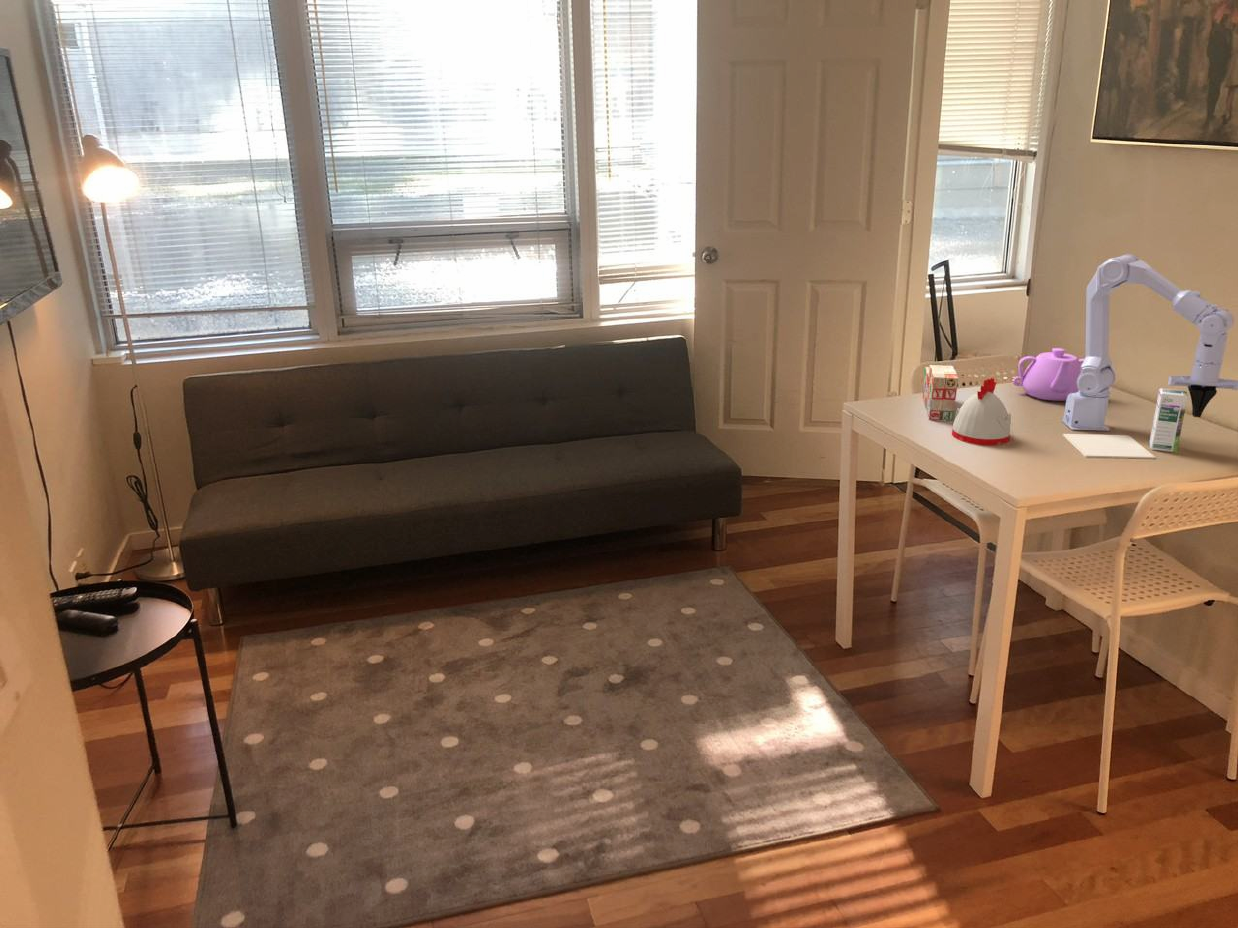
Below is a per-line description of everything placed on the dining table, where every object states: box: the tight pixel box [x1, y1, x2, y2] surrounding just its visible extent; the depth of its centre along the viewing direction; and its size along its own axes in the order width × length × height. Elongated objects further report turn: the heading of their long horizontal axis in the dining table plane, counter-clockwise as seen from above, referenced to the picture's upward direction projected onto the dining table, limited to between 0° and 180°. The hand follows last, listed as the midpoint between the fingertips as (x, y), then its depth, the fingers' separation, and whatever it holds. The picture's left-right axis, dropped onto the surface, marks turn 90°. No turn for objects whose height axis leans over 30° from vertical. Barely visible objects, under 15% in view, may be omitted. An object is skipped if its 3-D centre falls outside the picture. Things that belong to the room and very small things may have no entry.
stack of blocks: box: [922, 364, 959, 422], centre depth 267 cm, size 21×6×12 cm, turn 169°
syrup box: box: [1148, 387, 1189, 453], centre depth 236 cm, size 6×6×14 cm
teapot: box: [1012, 347, 1085, 402], centre depth 276 cm, size 22×22×14 cm
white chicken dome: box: [951, 377, 1012, 446], centre depth 245 cm, size 14×14×15 cm
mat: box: [1062, 433, 1156, 460], centre depth 240 cm, size 16×16×1 cm
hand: (1196, 415), depth 235 cm, fingers closed
